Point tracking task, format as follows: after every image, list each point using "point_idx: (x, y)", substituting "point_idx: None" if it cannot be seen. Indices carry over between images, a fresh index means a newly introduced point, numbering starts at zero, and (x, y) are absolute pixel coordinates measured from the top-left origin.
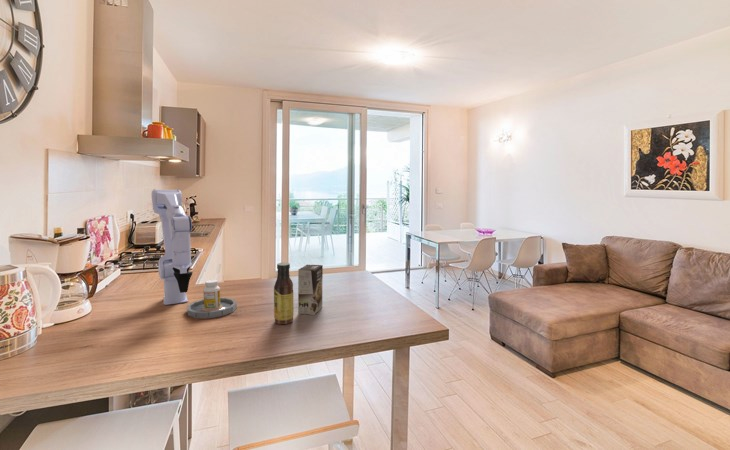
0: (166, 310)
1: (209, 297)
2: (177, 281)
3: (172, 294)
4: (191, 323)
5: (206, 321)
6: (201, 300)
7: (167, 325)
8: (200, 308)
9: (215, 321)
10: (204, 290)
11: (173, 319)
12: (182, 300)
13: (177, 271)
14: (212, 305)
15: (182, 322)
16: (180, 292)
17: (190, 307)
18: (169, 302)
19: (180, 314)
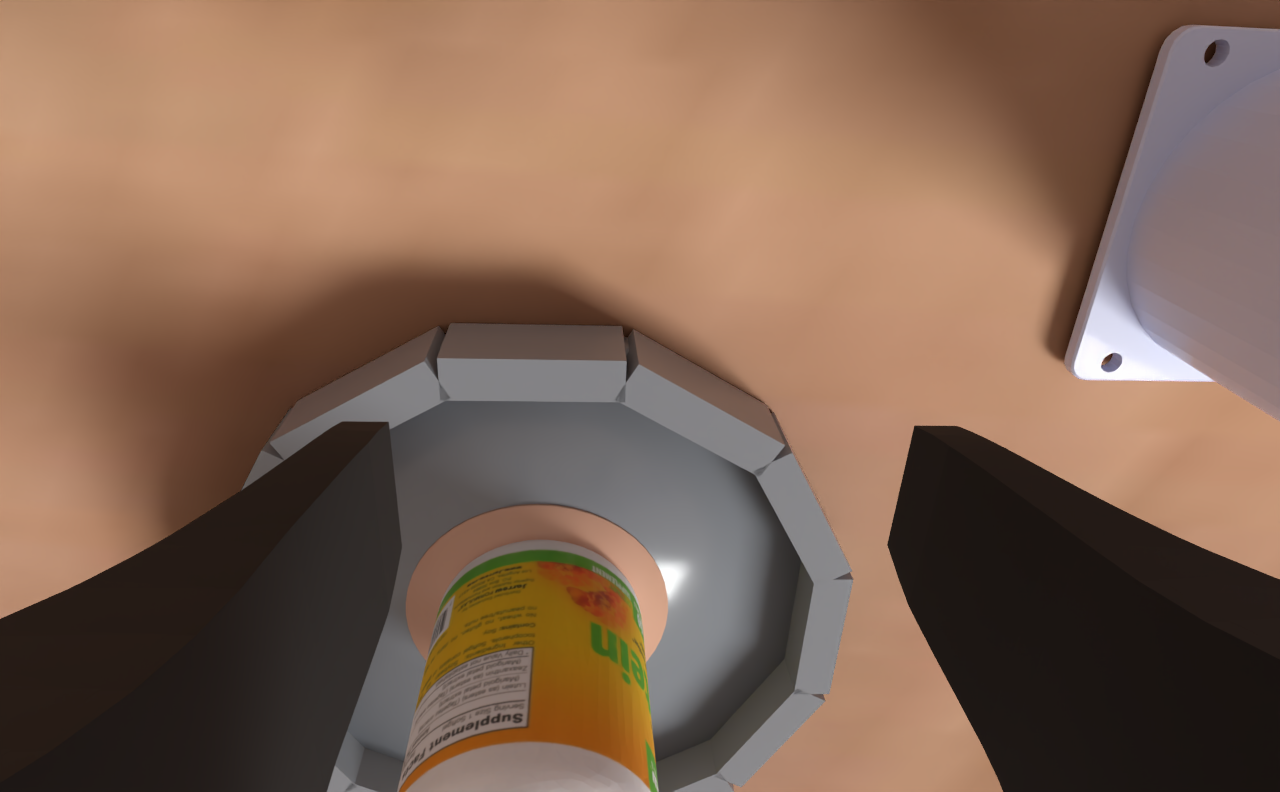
0: (882, 49)
1: (416, 725)
2: (48, 598)
3: (1263, 211)
4: (96, 333)
5: (120, 496)
6: (805, 552)
7: (106, 9)
8: (583, 494)
9: (88, 577)
10: (472, 775)
11: (368, 120)
12: (1139, 316)
13: (1249, 766)
14: (428, 652)
15: (178, 230)
16: (339, 424)
17: (548, 401)
18: (1196, 125)
19: (560, 233)
